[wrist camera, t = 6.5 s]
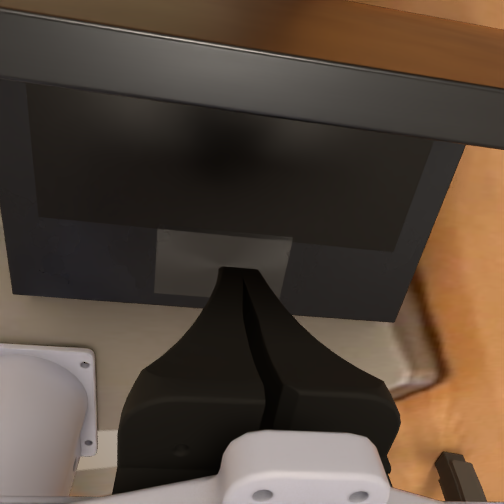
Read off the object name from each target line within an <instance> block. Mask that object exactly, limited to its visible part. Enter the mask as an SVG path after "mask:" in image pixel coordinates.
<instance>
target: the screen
mask: <svg viewBox="0 0 504 504" xmlns="http://www.w3.org/2000/svg"><path fill="white" fill-rule="evenodd" d="M0 79H5V80H12V81H19V82H26V83H33V84H40V85H47V86H54V87H61V88H68V89H76V90H83V91H90V92H97V93H104V94H111V95H118V96H125V97H132V98H139V99H146V100H153V101H161V102H168V103H175V104H182V105H189V106H196V107H203V108H210V109H217V110H224V111H231V112H238V113H246V114H253V115H260V116H267V117H274V118H281V119H288V120H295V121H302V122H309V123H316V124H323V125H331V126H338V127H345V128H352V129H359V130H366V131H373V132H380V133H387V134H394V135H401V136H408V137H416V138H423V139H430V140H437V141H444V142H451V143H458V144H465V145H472V146H479V147H486V148H493V149H501V150H504V30H502V29H497V28H491V27H486V26H481V25H475V24H470V23H464V22H459V21H454V20H448V19H443V18H437V17H432V16H427V15H421V14H416V13H411V12H405V11H400V10H394V9H389V8H384V7H378V6H373V5H367V4H362V3H357V2H351V1H346V0H0Z"/></svg>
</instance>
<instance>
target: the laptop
mask: <svg viewBox="0 0 504 504" xmlns="http://www.w3.org/2000/svg"><path fill="white" fill-rule="evenodd" d="M465 146H466V145H465V144H458V143H451V142H444V141H437V140H430V139H423V138H416V137H408V136H401V135H394V134H387V133H380V132H373V131H366V130H359V129H352V128H345V127H338V126H331V125H323V124H316V123H309V122H302V121H295V120H288V119H281V118H274V117H267V116H260V115H253V114H246V113H238V112H231V111H224V110H217V109H210V108H203V107H196V106H189V105H182V104H175V103H168V102H161V101H153V100H146V99H139V98H132V97H125V96H118V95H111V94H104V93H97V92H90V91H83V90H76V89H68V88H61V87H54V86H47V85H40V84H33V83H26V82H19V81H12V80H5V79H0V207H1V214H2V221H3V228H4V235H5V242H6V250H7V257H8V264H9V271H10V278H11V285H12V292H13V294H16V295H29V296H43V297H56V298H70V299H83V300H97V301H110V302H123V303H137V304H150V305H164V306H177V307H191V308H204V307H205V305H206V304H207V302H208V300H209V298H210V296H211V294H212V292H213V290H214V287H215V285H216V282H217V276H218V269H219V268H220V267H222V266H226V267H238V268H249V269H258V270H259V272H260V273H261V274H262V276H263V277H264V279H265V280H266V282H267V283H268V285H269V286H270V288H271V289H272V291H273V292H274V294H275V295H276V296H277V298H278V299H279V300H280V302H281V303H282V304H283V305H284V307H285V308H286V309H287V310H288V312H289V313H290V314H291V315H298V316H312V317H325V318H339V319H352V320H366V321H379V322H392V323H394V322H395V320H396V317H397V315H398V312H399V310H400V307H401V305H402V302H403V300H404V298H405V295H406V293H407V290H408V288H409V285H410V283H411V280H412V278H413V275H414V273H415V270H416V268H417V265H418V263H419V260H420V258H421V255H422V253H423V250H424V248H425V245H426V243H427V240H428V238H429V235H430V233H431V230H432V228H433V225H434V223H435V220H436V218H437V216H438V213H439V211H440V208H441V206H442V203H443V201H444V198H445V196H446V193H447V191H448V188H449V186H450V183H451V181H452V178H453V176H454V173H455V171H456V168H457V166H458V163H459V161H460V158H461V156H462V153H463V151H464V148H465Z"/></svg>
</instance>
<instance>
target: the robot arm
mask: <svg viewBox="0 0 504 504" xmlns="http://www.w3.org/2000/svg"><path fill="white" fill-rule="evenodd" d="M83 362H87V363H88V364H86V363H83ZM400 424H401V421H400V414H399V411H398V409H397V407H396V405H395V402H394V400H393V398H392V396H391V394H390V392H389V390H388V388H387V387H386V385H385V383H384V381H382V380H380V379H378V378H376V377H374V376H372V375H370V374H368V373H366V372H365V371H363V370H361V369H359V368H357V367H355V366H354V365H352V364H351V363H349V362H347V361H346V360H344V359H342V358H341V357H340V356H338V355H337V354H335V353H334V352H332V351H331V350H330V349H328V348H327V347H326V346H324V345H323V344H322V343H320V342H319V341H318V340H317V339H316V338H314V337H313V336H312V335H311V334H310V333H309V332H308V331H307V330H306V329H305V328H304V327H302V326H301V325H300V324H299V323H298V322H297V321H296V319H295V318H294V317H293V316H292V315H291V314H290V313H289V312H288V310H287V309H286V308H285V307H284V305H283V304H282V303H281V302H280V300H279V299H278V298H277V296H276V295H275V294H274V292H273V291H272V289H271V288H270V286H269V285H268V283H267V282H266V280H265V279H264V277H263V276H262V274H261V273H260V272H259V270H258V269H249V268H238V267H226V266H222V267H220V268H219V269H218V276H217V282H216V285H215V287H214V290H213V292H212V294H211V296H210V298H209V300H208V302H207V304H206V305H205V307H204V309H203V310H202V312H201V314H200V315H199V317H198V318H197V320H196V321H195V322H194V324H193V325H192V326H191V327H190V329H189V330H188V331H187V332H186V333H185V334H184V336H183V337H182V338H181V339H180V340H179V341H178V342H177V343H176V344H175V345H174V346H173V347H172V348H170V349H169V350H168V351H167V352H166V353H165V354H164V355H163V356H161V357H160V358H159V359H157V360H156V361H155V362H153V363H152V364H150V365H149V366H147V367H146V368H145V369H143V370H142V371H141V373H140V374H139V376H138V378H137V380H136V381H135V383H134V385H133V387H132V389H131V391H130V393H129V395H128V397H127V399H126V402H125V404H124V407H123V410H122V413H121V418H120V424H119V429H118V450H117V453H118V455H117V459H118V461H117V472H116V477H115V482H114V487H113V492H112V495H109V496H104V497H69V494H70V491H71V487H72V484H73V480H74V477H75V473H76V470H77V466H78V463H79V459H80V456H85V457H90V456H94V455H95V454H96V453H97V449H98V440H97V439H98V438H97V405H96V372H95V354H94V352H93V351H92V350H90V349H87V348H73V347H56V346H39V345H22V344H5V343H0V504H504V502H461V501H439V500H435V499H432V498H428V497H425V496H421V495H418V494H414V493H410V492H407V491H403V490H400V489H396V488H393V487H392V484H391V481H390V478H389V476H388V474H390V472H391V466H390V463H389V460H388V458H387V454H388V452H389V450H390V448H391V445H392V443H393V441H394V439H395V437H396V435H397V433H398V431H399V427H400Z"/></svg>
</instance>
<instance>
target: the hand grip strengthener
mask: <svg viewBox="0 0 504 504" xmlns="http://www.w3.org/2000/svg"><path fill="white" fill-rule="evenodd" d="M435 466H436V468H437V471H438V473H439V476H440V479H439V483H440V486H441V489H442V492H443V495H444V498H445V501H461V502H487V500H486V497H485V495H484V492H483V489H482V487H481V484H480V482H479V480H478V477H477V475H476V472H475V470H474V468H473V465H472V464H471V463H468V462H466V461H465V459H464V457H463V455H459V454H454V453H448V452H443V453H442V455H441V456H440V457H439V459H438V460H437V462H436V463H435Z"/></svg>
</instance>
